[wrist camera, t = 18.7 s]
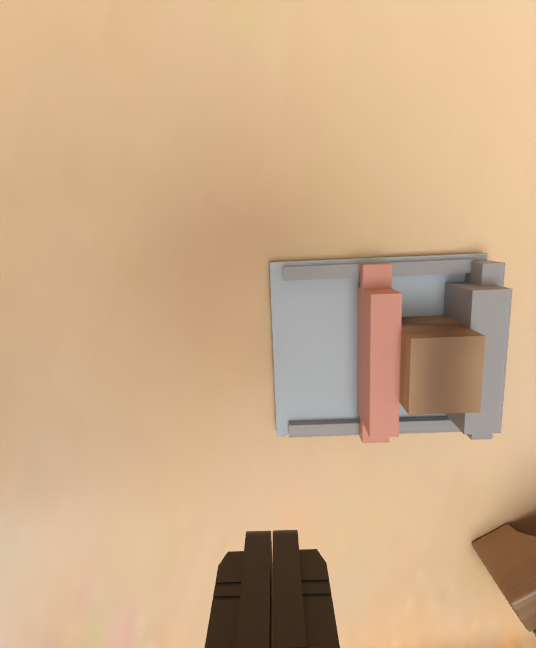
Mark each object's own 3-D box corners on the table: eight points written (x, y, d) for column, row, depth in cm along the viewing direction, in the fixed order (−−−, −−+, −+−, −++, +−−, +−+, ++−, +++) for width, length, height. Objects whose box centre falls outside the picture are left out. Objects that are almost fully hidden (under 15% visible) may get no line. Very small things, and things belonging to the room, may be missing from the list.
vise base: (276, 430, 35) (277, 466, 30) (269, 261, 32) (268, 267, 27) (470, 424, 35) (505, 459, 29) (480, 252, 32) (522, 257, 26)
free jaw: (357, 431, 34) (369, 459, 30) (357, 263, 31) (371, 268, 27) (382, 430, 34) (397, 458, 30) (385, 262, 31) (402, 266, 27)
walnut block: (382, 379, 33) (408, 414, 27) (383, 317, 32) (410, 338, 26) (440, 377, 33) (480, 412, 27) (443, 315, 32) (485, 335, 26)
